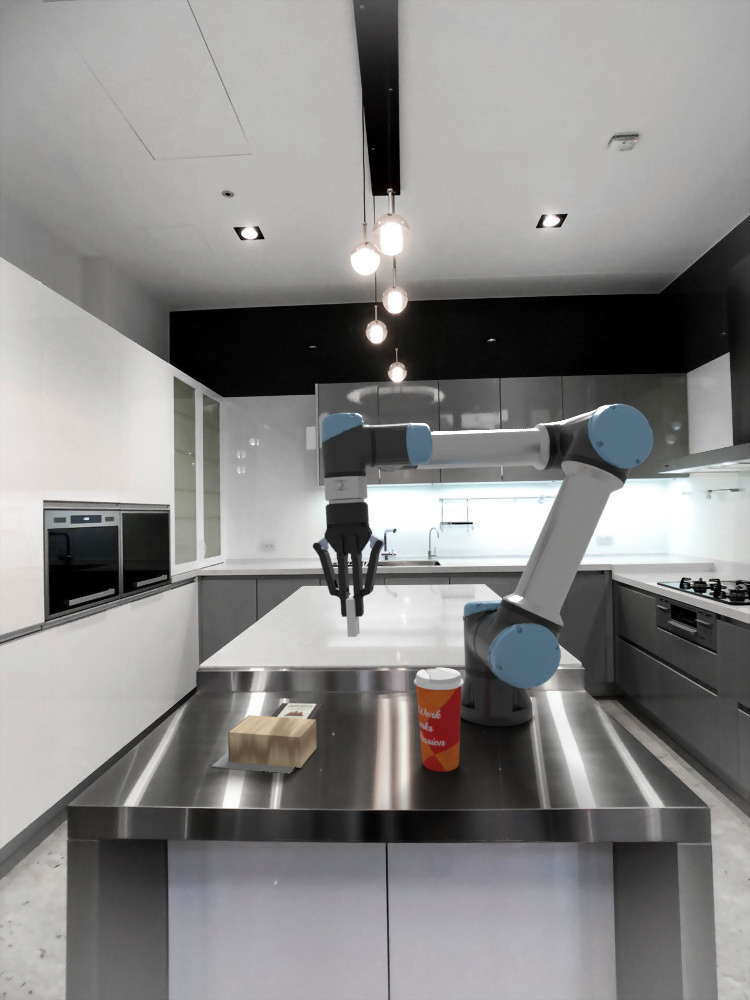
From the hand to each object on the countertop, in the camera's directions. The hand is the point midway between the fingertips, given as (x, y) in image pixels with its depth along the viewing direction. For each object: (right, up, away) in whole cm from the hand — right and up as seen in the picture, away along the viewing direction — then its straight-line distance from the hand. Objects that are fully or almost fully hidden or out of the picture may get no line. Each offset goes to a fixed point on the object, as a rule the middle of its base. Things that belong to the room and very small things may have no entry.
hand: (353, 634), depth 102 cm
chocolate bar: (-13, -22, +15) cm, 29 cm away
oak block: (-8, -18, -3) cm, 20 cm away
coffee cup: (+15, -20, -6) cm, 26 cm away
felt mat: (-15, -21, -1) cm, 26 cm away
